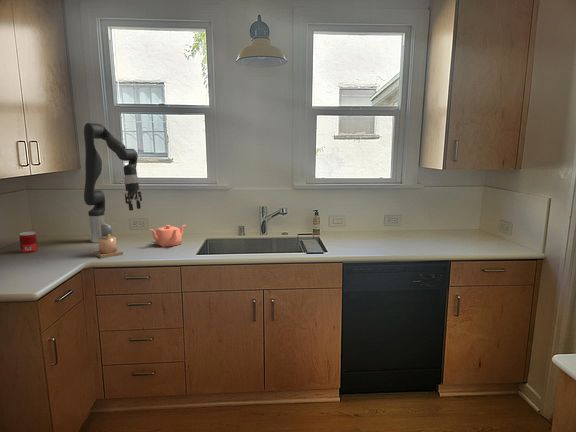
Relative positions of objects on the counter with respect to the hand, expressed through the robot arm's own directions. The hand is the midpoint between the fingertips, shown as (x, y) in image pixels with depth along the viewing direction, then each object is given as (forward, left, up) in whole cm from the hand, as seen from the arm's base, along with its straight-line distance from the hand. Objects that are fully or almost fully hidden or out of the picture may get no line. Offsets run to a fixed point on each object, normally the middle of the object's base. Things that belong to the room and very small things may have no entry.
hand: (135, 209), depth 226 cm
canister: (+2, -17, -24) cm, 30 cm away
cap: (+2, -17, -13) cm, 22 cm away
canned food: (-34, -49, -24) cm, 65 cm away
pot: (+4, +19, -24) cm, 31 cm away
